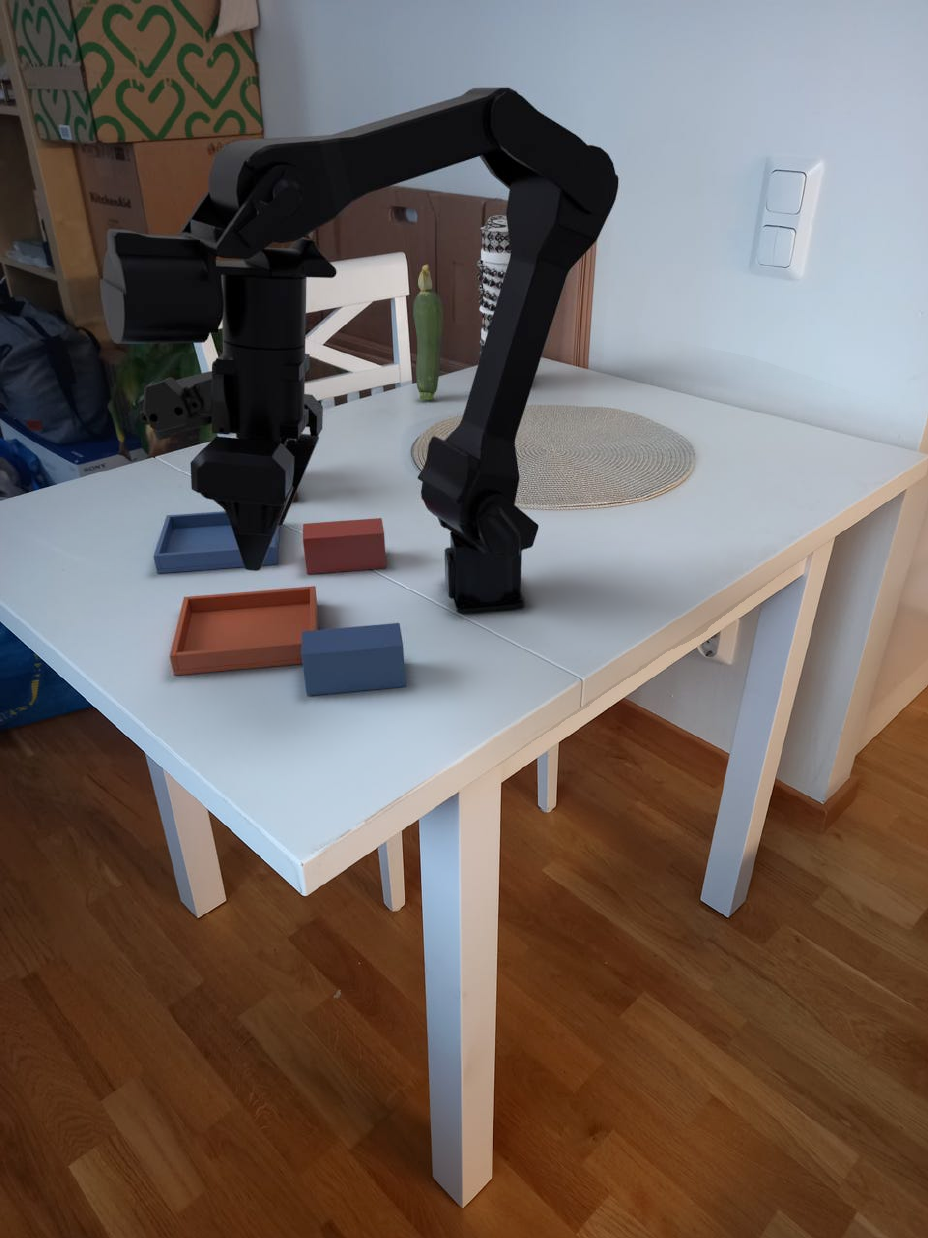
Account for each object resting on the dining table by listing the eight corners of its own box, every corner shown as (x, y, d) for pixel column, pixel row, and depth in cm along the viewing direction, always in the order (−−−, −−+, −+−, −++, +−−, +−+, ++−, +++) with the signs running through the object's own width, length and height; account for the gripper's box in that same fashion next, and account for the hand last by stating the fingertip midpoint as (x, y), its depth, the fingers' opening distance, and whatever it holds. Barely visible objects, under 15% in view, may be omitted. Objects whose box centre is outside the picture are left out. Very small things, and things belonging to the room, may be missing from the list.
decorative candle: (517, 373, 150) (520, 211, 137) (544, 387, 143) (550, 217, 130) (468, 380, 147) (466, 215, 134) (493, 395, 140) (494, 222, 127)
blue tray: (279, 523, 100) (277, 507, 99) (277, 564, 92) (275, 546, 91) (169, 531, 99) (166, 514, 98) (157, 573, 90) (153, 556, 89)
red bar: (383, 552, 94) (381, 517, 92) (386, 568, 91) (384, 532, 89) (306, 558, 93) (302, 523, 91) (306, 574, 90) (302, 538, 88)
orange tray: (317, 604, 84) (315, 585, 83) (318, 662, 76) (316, 642, 75) (187, 615, 83) (183, 596, 82) (173, 675, 75) (169, 655, 74)
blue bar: (401, 662, 76) (399, 622, 74) (405, 686, 73) (403, 645, 71) (306, 671, 75) (301, 631, 73) (306, 696, 72) (301, 654, 70)
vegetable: (419, 394, 141) (414, 259, 130) (446, 395, 140) (443, 260, 130) (414, 403, 137) (408, 265, 126) (442, 404, 136) (438, 265, 126)
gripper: (185, 310, 71) (193, 497, 78) (101, 355, 54) (120, 586, 61) (326, 325, 72) (321, 508, 79) (284, 373, 55) (283, 601, 62)
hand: (264, 545), depth 70 cm, fingers open, 9 cm apart
